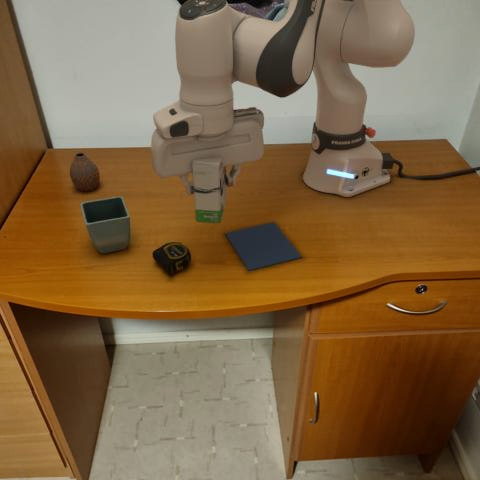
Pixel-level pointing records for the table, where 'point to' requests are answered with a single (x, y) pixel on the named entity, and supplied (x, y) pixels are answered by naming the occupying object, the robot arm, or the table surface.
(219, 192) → the ink box
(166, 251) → the tape measure
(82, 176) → the vase
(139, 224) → the table surface
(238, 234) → the cloth
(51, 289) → the table surface
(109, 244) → the flower pot
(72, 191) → the table surface
